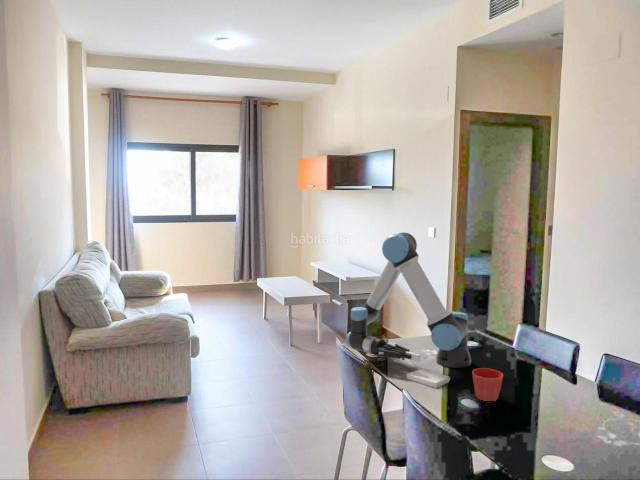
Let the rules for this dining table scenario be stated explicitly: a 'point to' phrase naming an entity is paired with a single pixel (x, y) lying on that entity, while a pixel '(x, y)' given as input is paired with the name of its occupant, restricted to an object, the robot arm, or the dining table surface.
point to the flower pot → (487, 383)
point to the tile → (428, 378)
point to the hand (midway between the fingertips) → (419, 358)
